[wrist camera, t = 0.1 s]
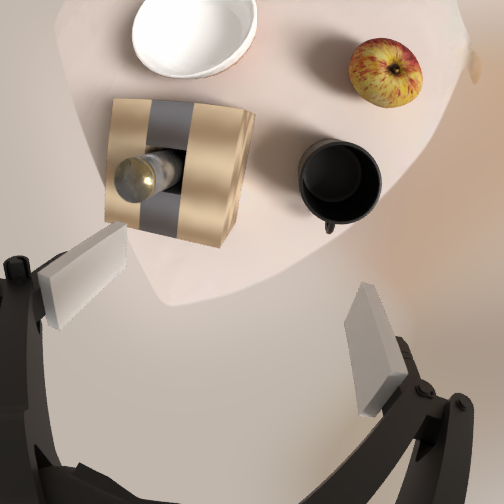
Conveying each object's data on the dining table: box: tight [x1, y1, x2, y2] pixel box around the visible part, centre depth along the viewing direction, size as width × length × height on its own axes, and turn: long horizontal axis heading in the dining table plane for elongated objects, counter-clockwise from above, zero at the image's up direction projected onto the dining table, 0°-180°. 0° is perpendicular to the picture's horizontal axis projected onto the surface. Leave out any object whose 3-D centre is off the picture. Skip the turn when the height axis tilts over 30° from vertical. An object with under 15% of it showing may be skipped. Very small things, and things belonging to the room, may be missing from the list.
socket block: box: [105, 99, 256, 248], centre depth 37 cm, size 16×16×10 cm
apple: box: [349, 38, 423, 108], centre depth 29 cm, size 9×9×10 cm
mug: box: [298, 139, 382, 234], centre depth 36 cm, size 9×12×9 cm
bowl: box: [132, 0, 257, 79], centre depth 30 cm, size 16×16×8 cm
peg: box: [114, 149, 185, 203], centre depth 30 cm, size 4×4×9 cm
